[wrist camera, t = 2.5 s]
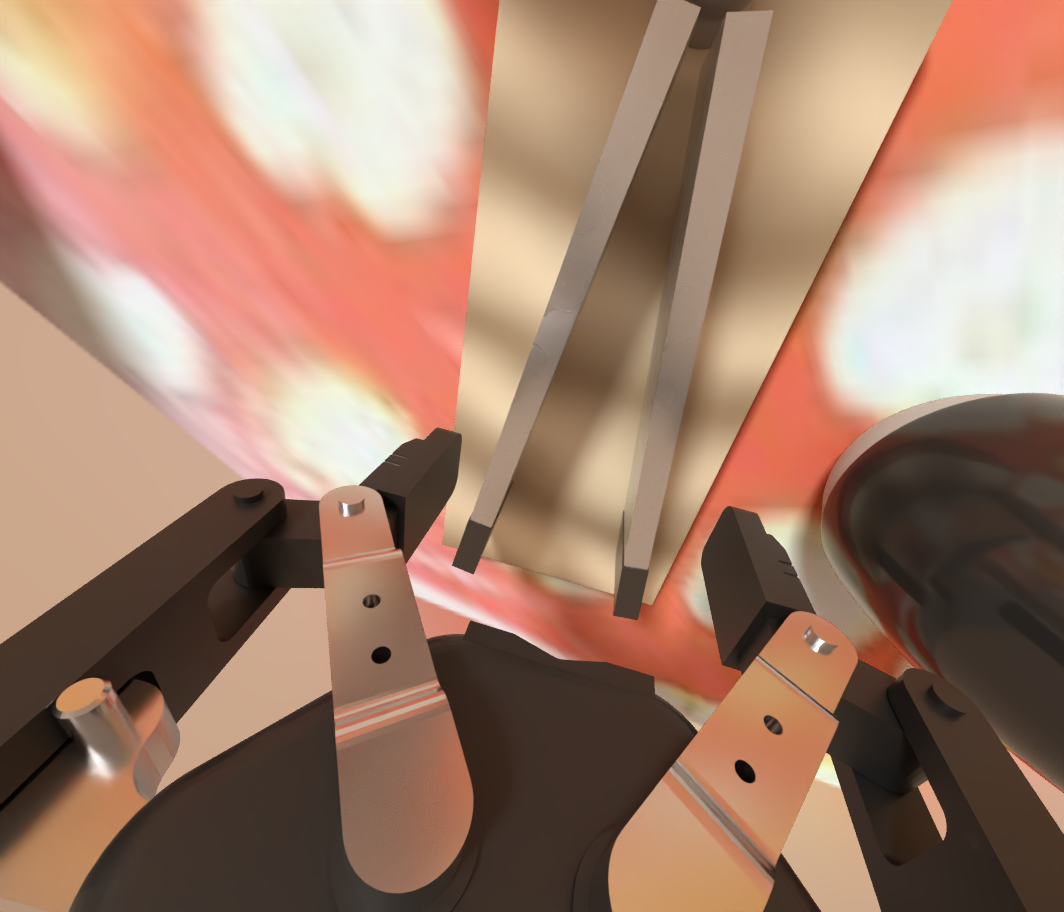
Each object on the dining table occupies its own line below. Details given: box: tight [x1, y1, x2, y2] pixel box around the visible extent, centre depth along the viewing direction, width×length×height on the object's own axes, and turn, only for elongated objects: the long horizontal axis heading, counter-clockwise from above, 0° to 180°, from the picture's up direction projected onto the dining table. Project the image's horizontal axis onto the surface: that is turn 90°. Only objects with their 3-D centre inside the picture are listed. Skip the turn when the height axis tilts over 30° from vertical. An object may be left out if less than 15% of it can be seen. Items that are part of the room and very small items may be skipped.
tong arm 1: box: [452, 0, 701, 574], centre depth 16 cm, size 20×1×4 cm, turn 160°
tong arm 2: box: [613, 10, 774, 620], centre depth 16 cm, size 20×1×4 cm, turn 178°
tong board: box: [442, 0, 953, 605], centre depth 17 cm, size 26×13×6 cm, turn 169°
